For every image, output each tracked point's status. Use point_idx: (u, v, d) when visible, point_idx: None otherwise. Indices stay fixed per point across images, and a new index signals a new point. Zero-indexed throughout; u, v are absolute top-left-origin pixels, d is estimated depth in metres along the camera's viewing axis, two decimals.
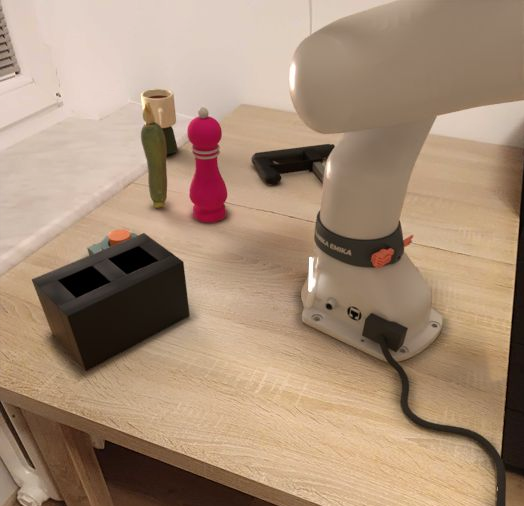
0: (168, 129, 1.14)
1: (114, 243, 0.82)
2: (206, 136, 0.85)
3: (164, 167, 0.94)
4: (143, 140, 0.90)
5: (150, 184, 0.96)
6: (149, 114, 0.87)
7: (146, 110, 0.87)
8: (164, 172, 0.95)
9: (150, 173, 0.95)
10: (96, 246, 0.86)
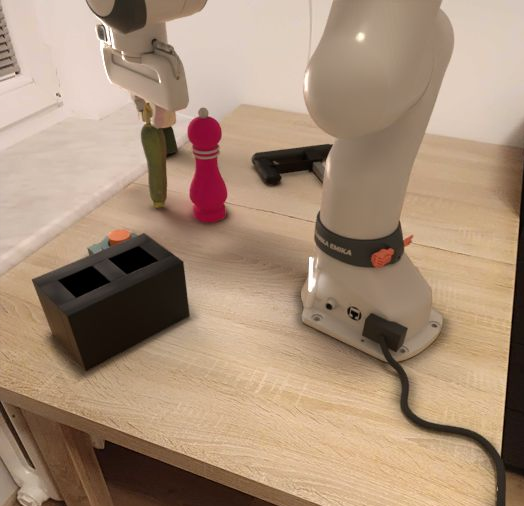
0: (168, 129, 1.14)
1: (114, 243, 0.82)
2: (206, 136, 0.85)
3: (164, 167, 0.94)
4: (143, 140, 0.90)
5: (150, 184, 0.96)
6: (149, 114, 0.87)
7: (146, 110, 0.87)
8: (164, 172, 0.95)
9: (150, 173, 0.95)
10: (96, 246, 0.86)
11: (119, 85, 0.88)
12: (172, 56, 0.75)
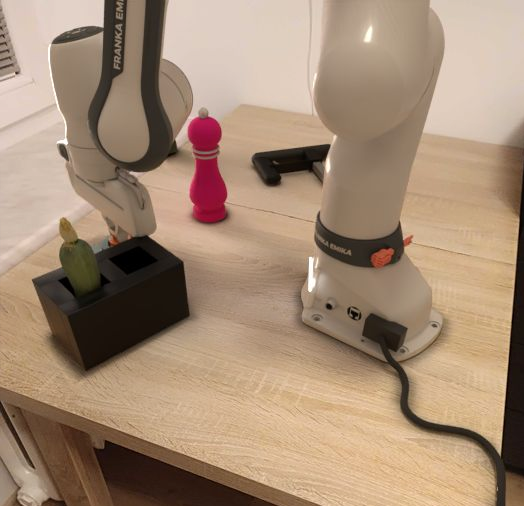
0: None
1: None
2: (206, 136, 0.85)
3: None
4: (62, 264, 0.62)
5: None
6: (68, 232, 0.60)
7: (62, 227, 0.59)
8: None
9: None
10: (96, 246, 0.86)
11: (84, 199, 0.82)
12: (136, 188, 0.69)
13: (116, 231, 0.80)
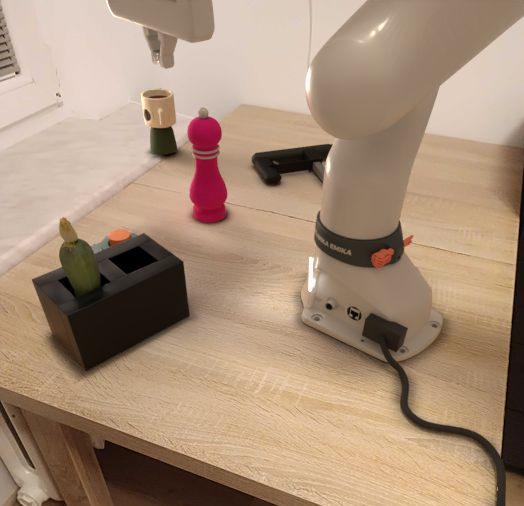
0: (168, 129, 1.14)
1: (114, 243, 0.82)
2: (206, 136, 0.85)
3: None
4: (62, 264, 0.62)
5: None
6: (68, 232, 0.60)
7: (62, 227, 0.59)
8: None
9: None
10: (96, 246, 0.86)
11: (123, 16, 0.69)
12: None
13: (161, 50, 0.68)
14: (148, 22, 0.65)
